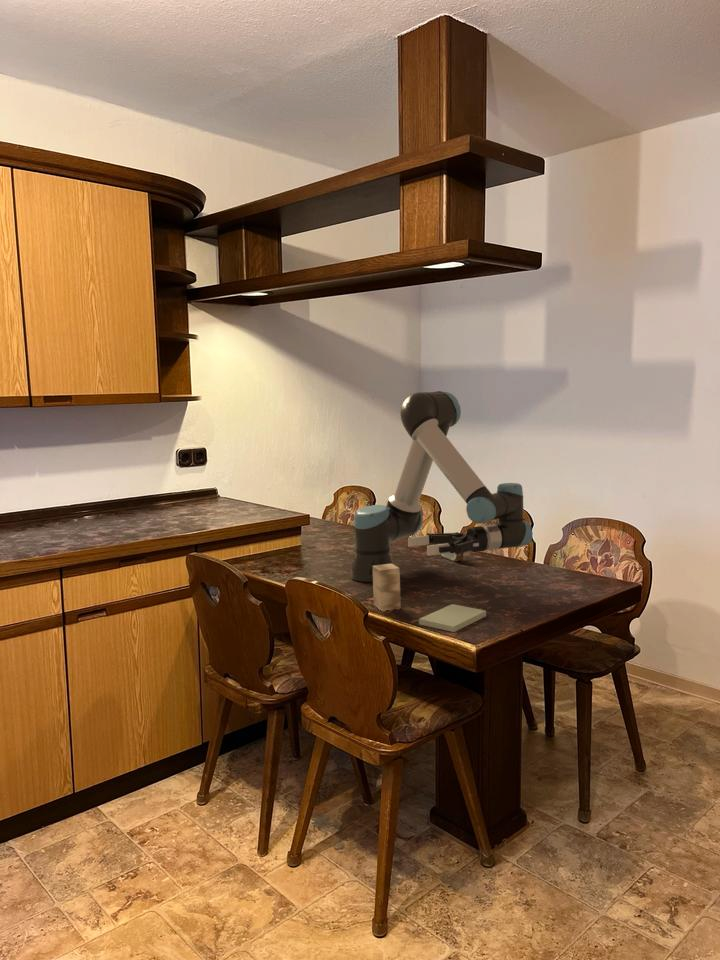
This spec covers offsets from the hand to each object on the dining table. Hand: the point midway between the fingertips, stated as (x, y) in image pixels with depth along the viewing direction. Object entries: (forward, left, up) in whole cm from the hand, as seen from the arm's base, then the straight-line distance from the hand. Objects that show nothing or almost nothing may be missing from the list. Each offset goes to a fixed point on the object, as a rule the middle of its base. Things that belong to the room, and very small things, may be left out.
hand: (417, 546), depth 212 cm
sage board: (+7, +17, -17) cm, 25 cm away
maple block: (+8, -5, -17) cm, 20 cm away
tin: (-50, -22, -17) cm, 57 cm away
